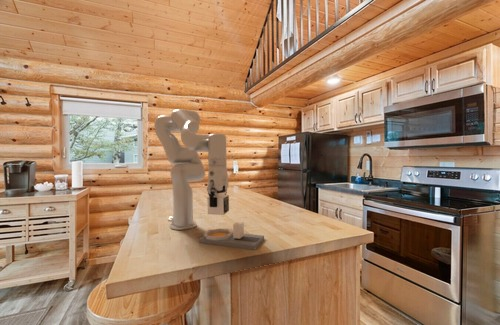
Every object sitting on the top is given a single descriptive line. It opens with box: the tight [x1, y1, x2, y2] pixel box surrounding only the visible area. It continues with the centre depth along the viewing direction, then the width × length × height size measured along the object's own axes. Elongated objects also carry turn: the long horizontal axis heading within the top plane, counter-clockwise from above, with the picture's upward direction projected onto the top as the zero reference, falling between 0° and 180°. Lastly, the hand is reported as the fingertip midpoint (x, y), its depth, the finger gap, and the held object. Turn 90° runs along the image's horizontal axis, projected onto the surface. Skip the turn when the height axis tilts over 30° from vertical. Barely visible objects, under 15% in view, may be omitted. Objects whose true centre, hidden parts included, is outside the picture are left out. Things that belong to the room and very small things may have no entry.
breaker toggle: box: [232, 221, 245, 239], centre depth 97 cm, size 3×4×6 cm
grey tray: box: [198, 228, 265, 251], centre depth 98 cm, size 24×12×3 cm, turn 70°
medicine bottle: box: [206, 186, 230, 216], centre depth 100 cm, size 7×7×12 cm
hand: (218, 204), depth 100 cm, fingers closed on medicine bottle, 7 cm apart
